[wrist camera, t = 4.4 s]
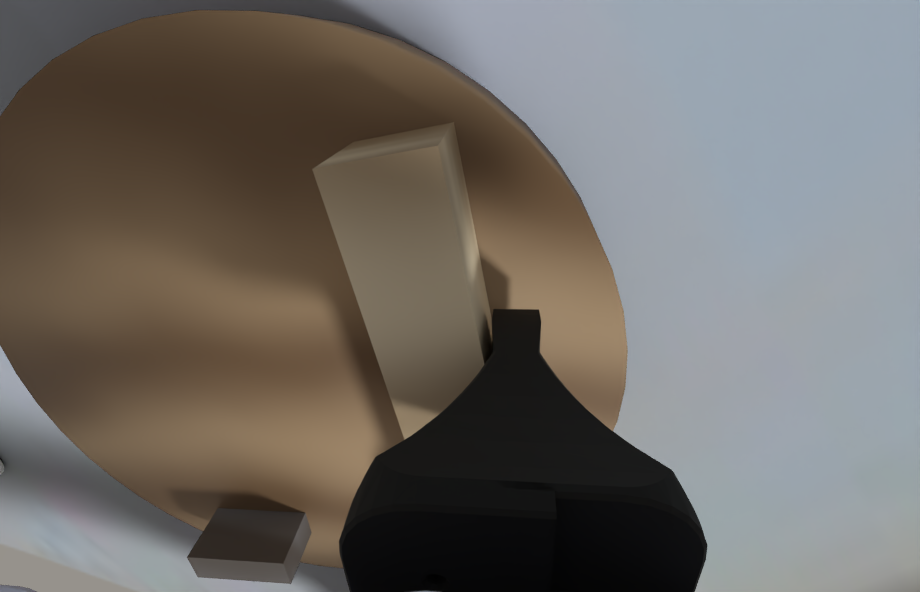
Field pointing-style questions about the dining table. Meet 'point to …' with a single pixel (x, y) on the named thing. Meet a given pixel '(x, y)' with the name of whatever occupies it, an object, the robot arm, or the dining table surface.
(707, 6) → the dining table surface
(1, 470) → the syrup box
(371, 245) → the hinged leg
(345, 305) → the stool seat
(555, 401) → the robot arm
